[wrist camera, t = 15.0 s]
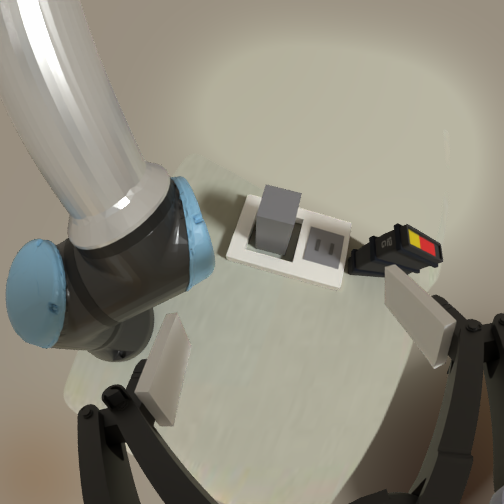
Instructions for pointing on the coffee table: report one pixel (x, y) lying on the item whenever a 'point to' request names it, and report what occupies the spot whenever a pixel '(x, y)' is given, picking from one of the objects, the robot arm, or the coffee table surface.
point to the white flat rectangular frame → (297, 247)
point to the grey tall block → (276, 219)
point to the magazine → (395, 253)
